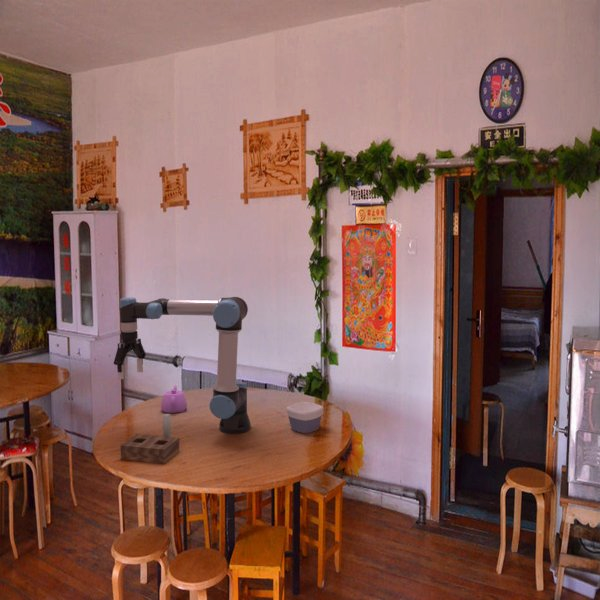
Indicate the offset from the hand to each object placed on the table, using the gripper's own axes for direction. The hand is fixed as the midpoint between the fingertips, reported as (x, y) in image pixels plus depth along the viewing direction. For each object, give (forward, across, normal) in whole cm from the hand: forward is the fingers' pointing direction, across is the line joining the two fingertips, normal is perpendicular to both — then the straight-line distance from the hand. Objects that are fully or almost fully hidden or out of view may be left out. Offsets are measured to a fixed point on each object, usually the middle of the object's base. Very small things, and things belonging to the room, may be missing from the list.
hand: (130, 375), depth 279 cm
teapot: (+28, -35, -1) cm, 45 cm away
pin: (+27, +9, +26) cm, 39 cm away
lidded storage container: (+28, -35, +74) cm, 87 cm away
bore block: (+27, +21, +26) cm, 43 cm away
